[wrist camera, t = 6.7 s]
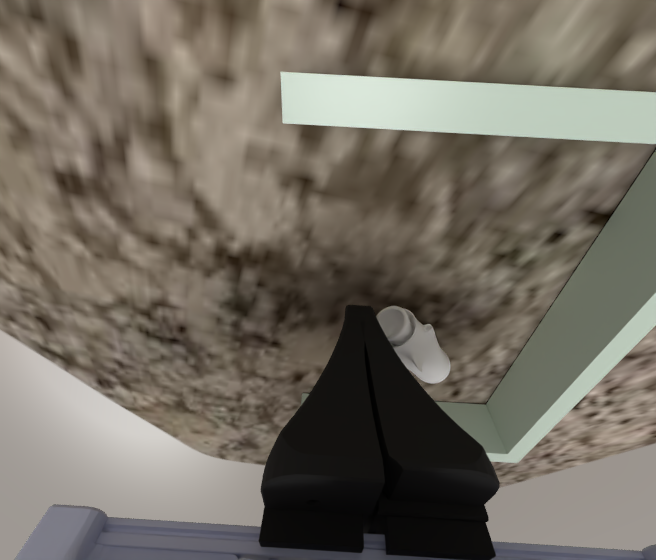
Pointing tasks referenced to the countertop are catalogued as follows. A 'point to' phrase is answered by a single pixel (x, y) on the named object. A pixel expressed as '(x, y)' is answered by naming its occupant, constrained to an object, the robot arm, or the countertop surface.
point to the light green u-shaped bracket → (592, 273)
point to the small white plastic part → (414, 344)
